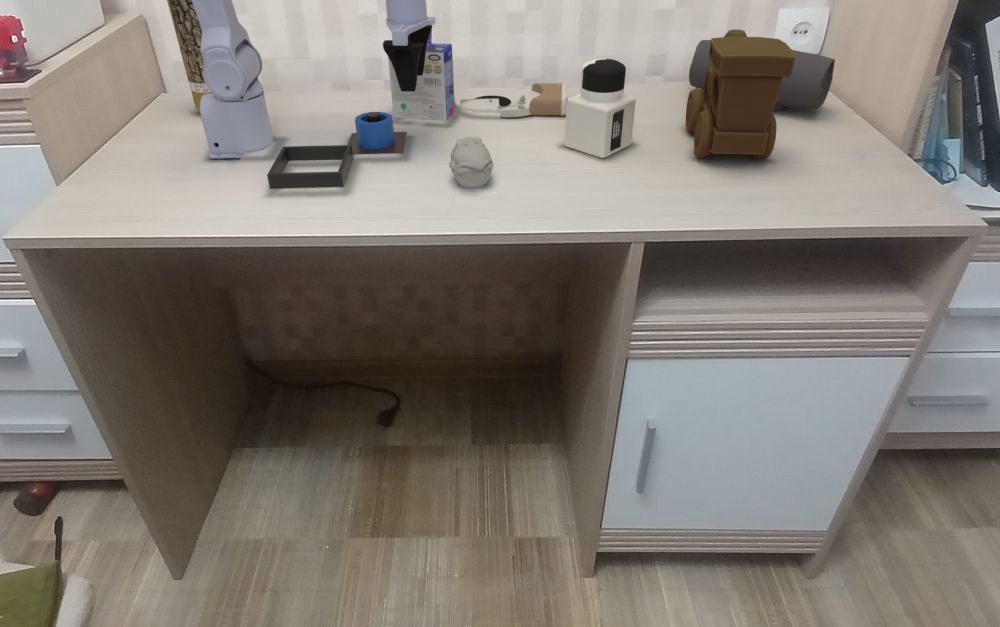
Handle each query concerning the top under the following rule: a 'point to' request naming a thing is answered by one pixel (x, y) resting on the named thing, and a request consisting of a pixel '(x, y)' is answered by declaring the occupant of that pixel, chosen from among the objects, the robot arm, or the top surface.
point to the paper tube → (190, 45)
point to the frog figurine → (471, 162)
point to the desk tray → (310, 178)
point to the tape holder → (393, 149)
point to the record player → (521, 100)
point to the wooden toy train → (739, 95)
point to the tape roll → (375, 131)
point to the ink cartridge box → (427, 87)
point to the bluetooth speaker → (795, 91)
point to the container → (600, 110)
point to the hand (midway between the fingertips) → (412, 82)
